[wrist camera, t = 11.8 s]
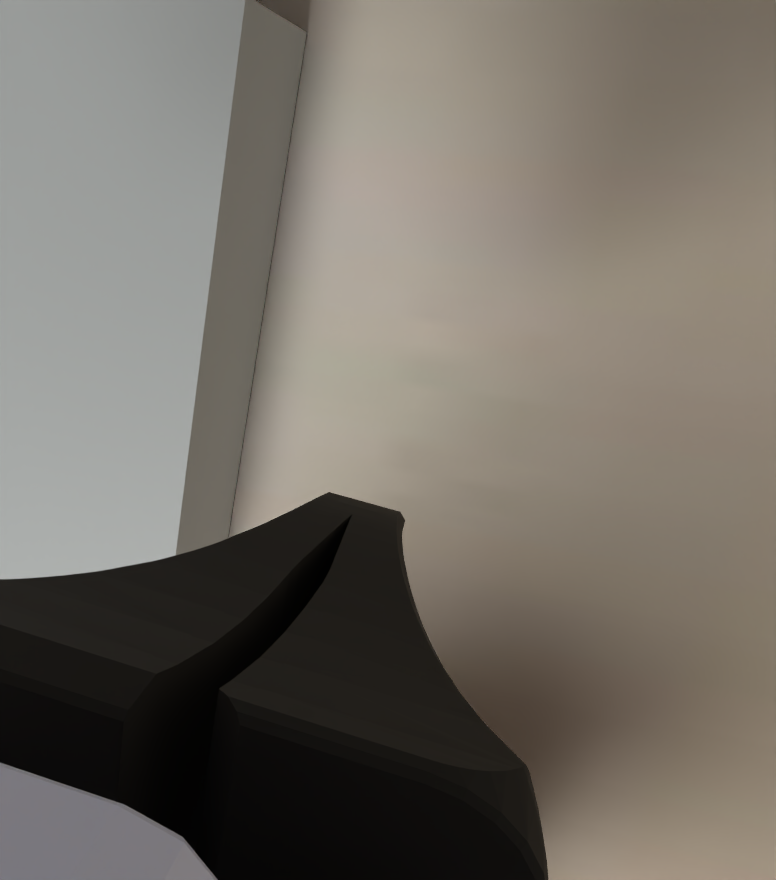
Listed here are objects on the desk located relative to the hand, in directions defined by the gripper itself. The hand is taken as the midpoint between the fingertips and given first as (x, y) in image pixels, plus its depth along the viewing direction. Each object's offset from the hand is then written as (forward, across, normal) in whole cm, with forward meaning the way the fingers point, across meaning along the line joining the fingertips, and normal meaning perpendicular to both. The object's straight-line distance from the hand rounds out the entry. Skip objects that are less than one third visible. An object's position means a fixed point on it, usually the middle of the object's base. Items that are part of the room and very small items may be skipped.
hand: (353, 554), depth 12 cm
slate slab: (+9, +10, 0) cm, 14 cm away
